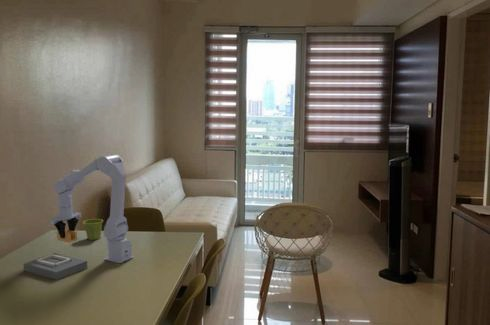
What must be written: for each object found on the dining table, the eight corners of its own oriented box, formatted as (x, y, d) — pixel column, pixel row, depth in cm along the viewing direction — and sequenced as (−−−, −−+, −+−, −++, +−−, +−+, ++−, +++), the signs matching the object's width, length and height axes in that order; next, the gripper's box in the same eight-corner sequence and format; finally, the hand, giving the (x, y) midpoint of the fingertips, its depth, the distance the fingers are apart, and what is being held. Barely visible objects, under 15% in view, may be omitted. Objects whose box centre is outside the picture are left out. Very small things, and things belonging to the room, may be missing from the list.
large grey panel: (87, 268, 174) (86, 258, 173) (56, 280, 162) (56, 269, 161) (55, 260, 184) (54, 250, 183) (24, 270, 172) (23, 260, 171)
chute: (77, 240, 191) (76, 231, 190) (69, 242, 187) (68, 233, 187) (65, 237, 195) (64, 229, 194) (57, 240, 191) (56, 231, 191)
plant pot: (100, 241, 210) (99, 223, 209) (80, 241, 211) (79, 223, 210) (106, 235, 220) (105, 218, 219) (88, 235, 220) (87, 219, 219)
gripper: (73, 202, 197) (75, 231, 199) (44, 208, 185) (46, 239, 187) (83, 203, 194) (85, 233, 196) (55, 210, 182) (57, 241, 183)
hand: (67, 236), depth 191 cm, fingers closed on chute, 4 cm apart
